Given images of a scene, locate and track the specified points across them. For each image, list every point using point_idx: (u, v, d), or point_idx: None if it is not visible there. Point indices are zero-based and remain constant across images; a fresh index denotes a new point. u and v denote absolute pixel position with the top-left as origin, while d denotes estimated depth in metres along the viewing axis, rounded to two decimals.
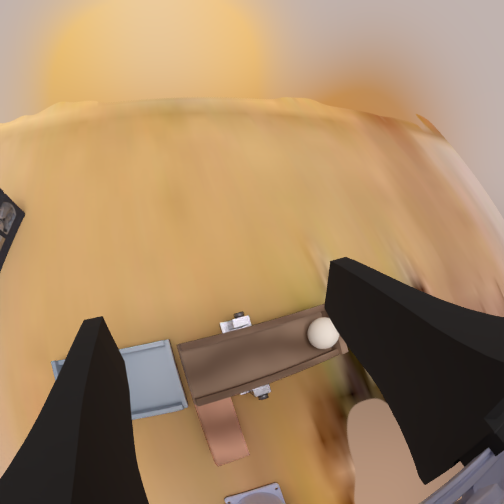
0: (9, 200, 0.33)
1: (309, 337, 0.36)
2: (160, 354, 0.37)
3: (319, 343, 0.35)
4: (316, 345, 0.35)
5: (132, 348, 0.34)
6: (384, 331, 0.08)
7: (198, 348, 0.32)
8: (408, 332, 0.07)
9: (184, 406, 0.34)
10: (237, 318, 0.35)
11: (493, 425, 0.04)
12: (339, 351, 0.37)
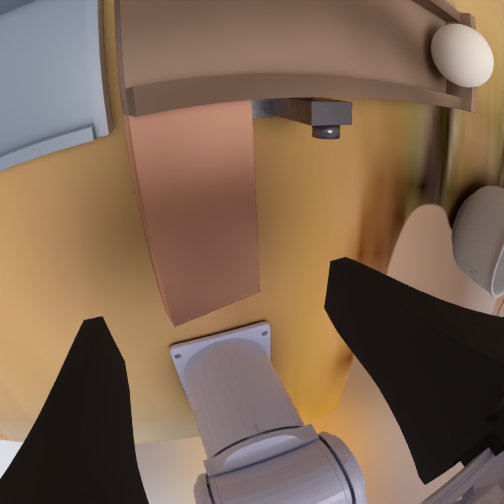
0: None
1: (445, 45, 0.11)
2: (70, 4, 0.09)
3: (466, 67, 0.10)
4: (455, 68, 0.11)
5: None
6: (384, 331, 0.08)
7: None
8: (408, 332, 0.07)
9: (99, 132, 0.12)
10: None
11: (493, 425, 0.04)
12: (464, 104, 0.14)
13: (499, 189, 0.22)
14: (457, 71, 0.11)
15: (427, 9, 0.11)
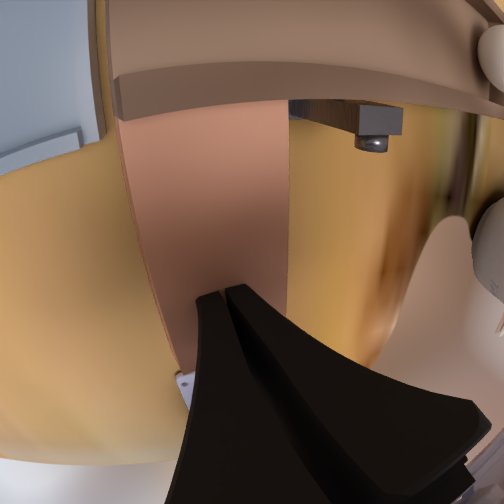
0: None
1: (496, 49, 0.08)
2: None
3: None
4: None
5: None
6: (267, 376, 0.07)
7: None
8: (282, 386, 0.06)
9: (87, 138, 0.09)
10: None
11: None
12: None
13: None
14: None
15: (473, 6, 0.08)
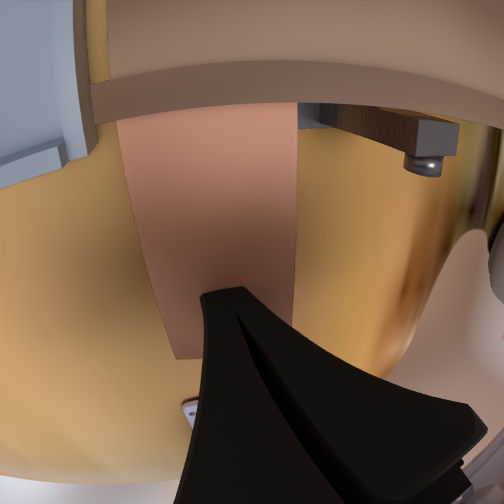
0: None
1: None
2: None
3: None
4: None
5: None
6: (262, 378, 0.07)
7: None
8: (277, 387, 0.06)
9: (72, 152, 0.07)
10: None
11: None
12: None
13: None
14: None
15: None
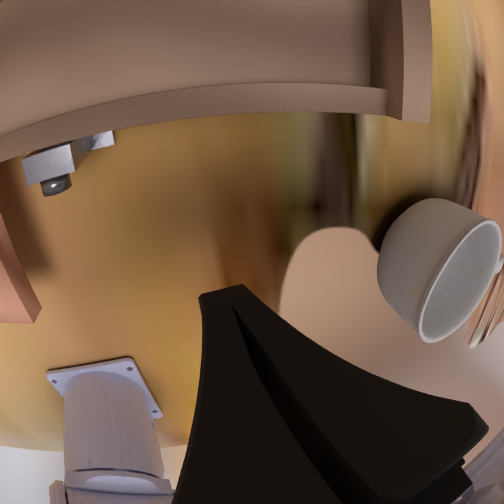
0: None
1: None
2: None
3: None
4: None
5: None
6: (263, 377, 0.07)
7: None
8: (278, 387, 0.06)
9: None
10: None
11: None
12: (393, 104, 0.07)
13: (442, 204, 0.19)
14: None
15: None
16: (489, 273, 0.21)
